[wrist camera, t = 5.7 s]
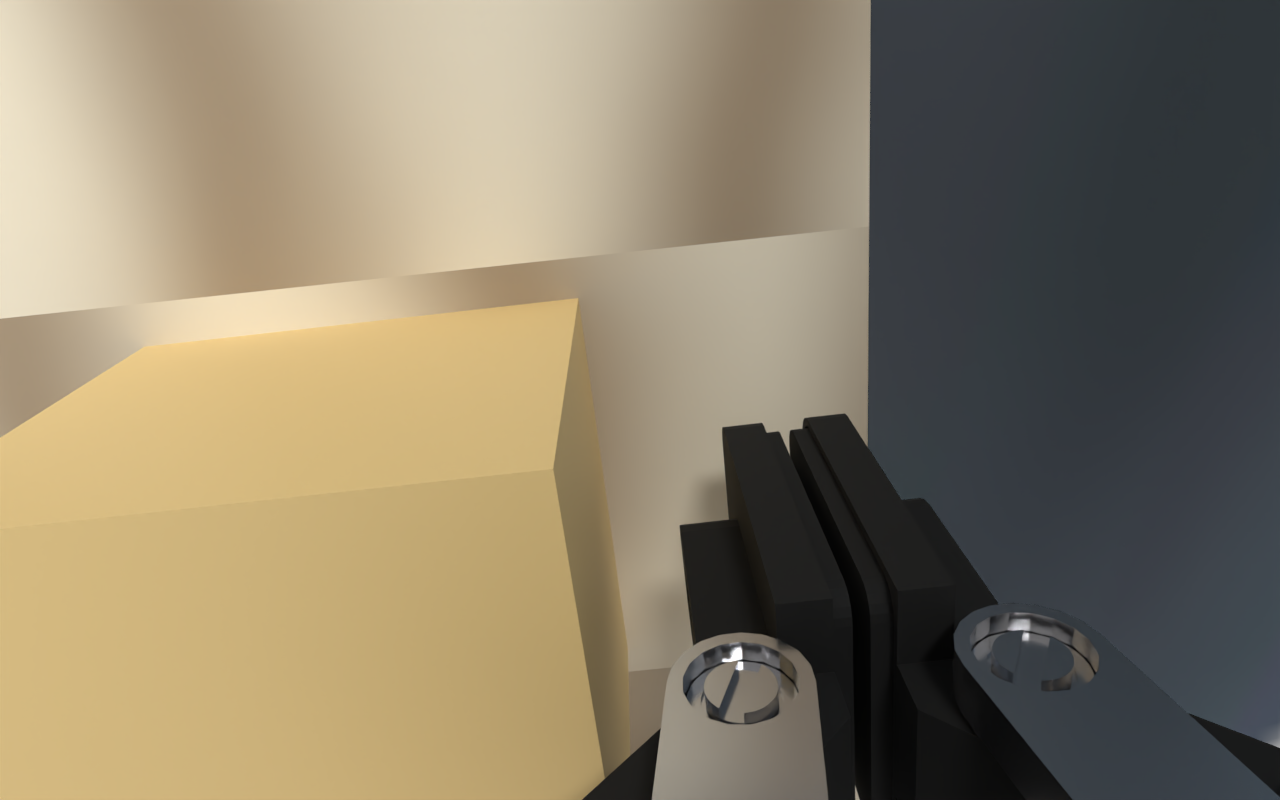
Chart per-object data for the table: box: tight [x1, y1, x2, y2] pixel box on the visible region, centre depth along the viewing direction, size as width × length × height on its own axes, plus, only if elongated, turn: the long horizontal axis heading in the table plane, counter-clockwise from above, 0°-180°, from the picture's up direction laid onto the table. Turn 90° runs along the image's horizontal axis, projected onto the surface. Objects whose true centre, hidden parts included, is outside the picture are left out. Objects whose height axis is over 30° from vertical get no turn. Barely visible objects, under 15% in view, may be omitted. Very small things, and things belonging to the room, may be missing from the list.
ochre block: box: [0, 298, 630, 800], centre depth 10 cm, size 6×6×5 cm
